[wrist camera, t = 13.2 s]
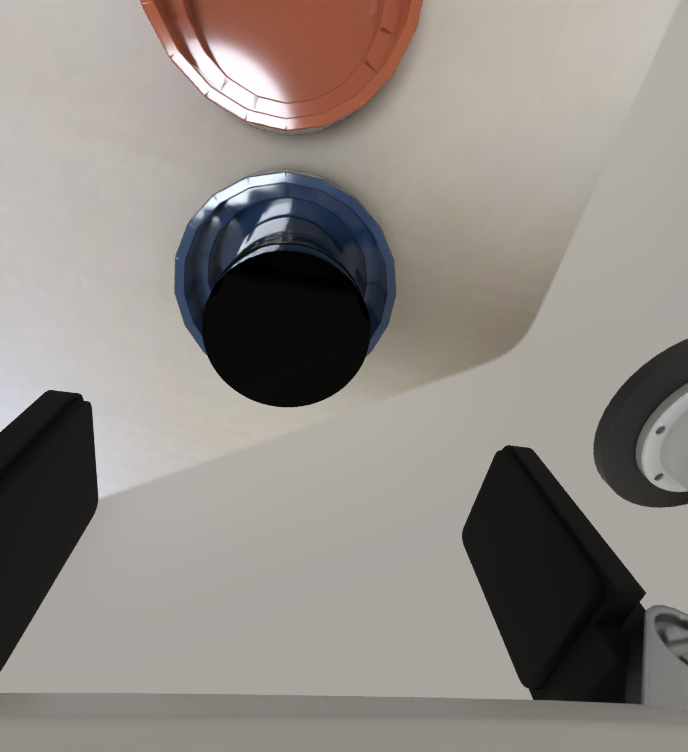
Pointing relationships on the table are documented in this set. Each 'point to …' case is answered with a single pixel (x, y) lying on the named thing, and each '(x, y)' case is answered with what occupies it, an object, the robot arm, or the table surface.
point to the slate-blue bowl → (271, 201)
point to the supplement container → (286, 317)
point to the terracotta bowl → (286, 54)
